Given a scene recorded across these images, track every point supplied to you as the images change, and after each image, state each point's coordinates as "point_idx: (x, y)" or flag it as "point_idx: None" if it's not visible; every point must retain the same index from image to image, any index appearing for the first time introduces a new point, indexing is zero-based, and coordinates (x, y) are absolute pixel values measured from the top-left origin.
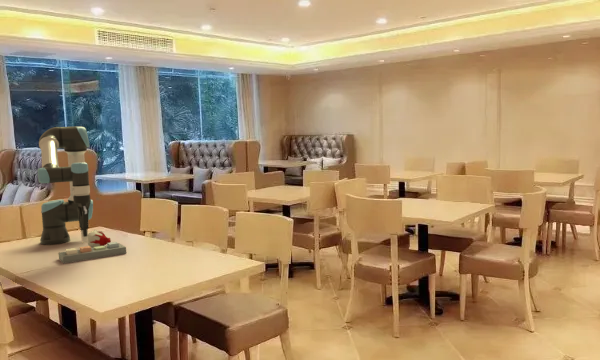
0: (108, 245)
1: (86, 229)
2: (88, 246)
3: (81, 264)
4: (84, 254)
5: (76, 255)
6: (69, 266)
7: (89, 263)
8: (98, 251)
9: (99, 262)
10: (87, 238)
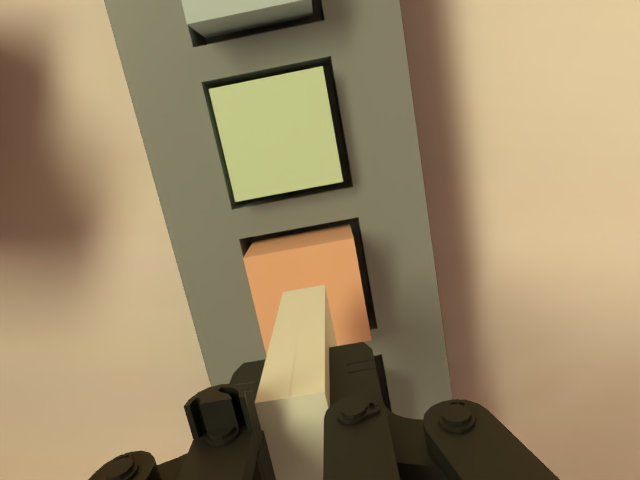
0: (255, 16)
1: (398, 422)
2: (281, 267)
3: (575, 310)
4: (438, 298)
5: (446, 369)
6: (579, 396)
7: (585, 247)
8: (420, 158)
9: (610, 161)
10: (327, 318)
